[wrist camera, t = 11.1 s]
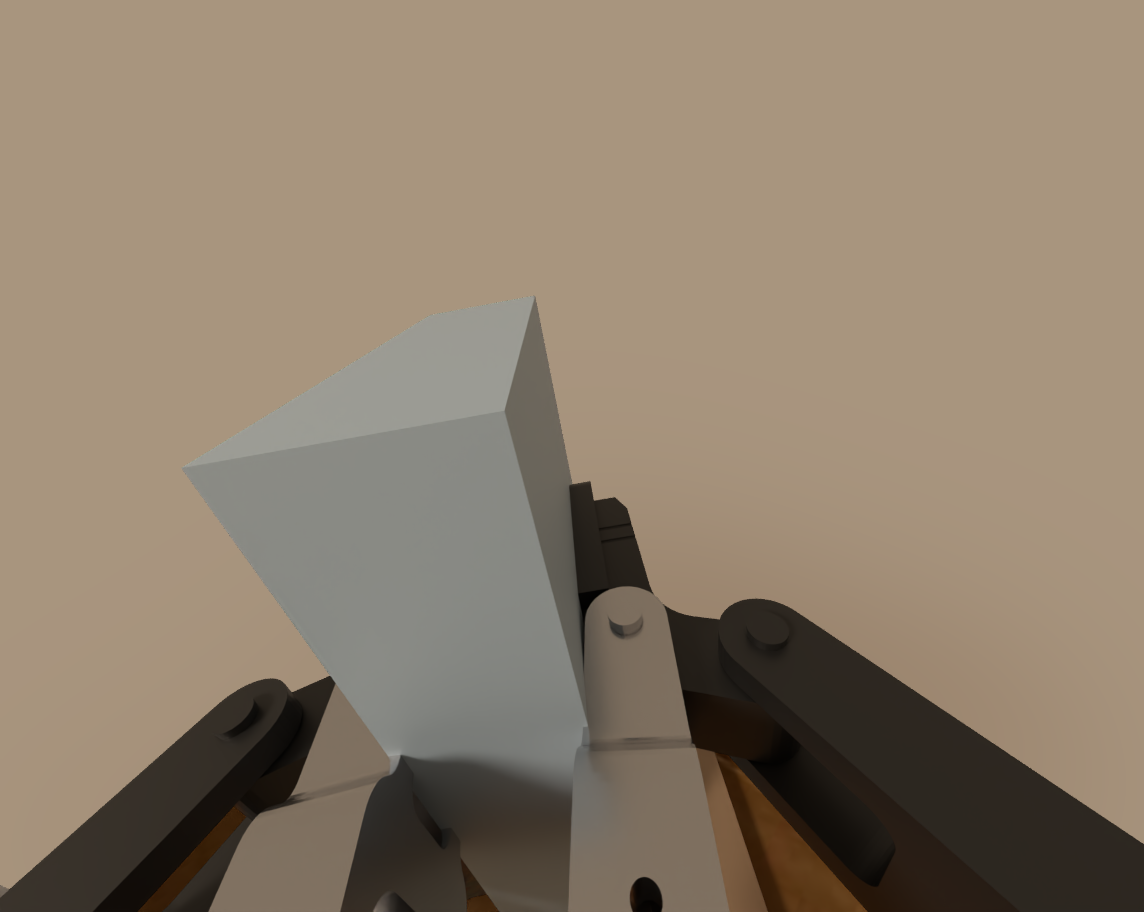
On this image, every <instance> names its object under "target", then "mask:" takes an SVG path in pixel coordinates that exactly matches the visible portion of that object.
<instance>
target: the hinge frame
mask: <svg viewBox="0 0 1144 912" xmlns="http://www.w3.org/2000/svg"><path fill="white" fill-rule="evenodd" d="M696 751H697V755H698V759H699V763H700V768H701V772H702V777H703V782H704V787H705V792H706V797H707V802H708V807H709V812H710V817H711V822H712V827H713V832H714V837H715V842H716V847H717V852H718V857H719V862H720V867H721V872H722V877H723V882H724V887H725V892H726V897H727V902H728V907H729V911H730V912H768V911H767V908H766V905H765V902H764V899H763V896H762V893H761V890H760V887H759V884H758V881H757V878H756V875H755V872H754V869H753V866H752V863H751V860H750V857H749V854H748V851H747V848H746V845H745V842H744V839H743V836H742V833H741V830H740V827H739V824H738V821H737V818H736V815H735V812H734V809H733V806H732V803H731V800H730V797H729V794H728V791H727V788H726V785H725V782H724V779H723V776H722V773H721V770H720V767H719V764H718V761H717V758H716V755H715V752H712V751H708V750H703V749H699V748H696Z"/></svg>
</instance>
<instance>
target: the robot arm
mask: <svg viewBox="0 0 1144 912" xmlns="http://www.w3.org/2000/svg"><path fill="white" fill-rule="evenodd" d="M569 491H570V503H571V515H572V528H573V540H574V552H575V564H576V576H577V588H578V596H579V600H580V605H581V609H582V614H583V618H584V628H585V646H584V683H585V696H586V708H587V721H588V726H587V727H583V735H582V743H581V746H579V747H578V748H577V750H576V755H575V761H574V771H573V793H572V820H571V847H570V875H569V902H568V912H730V911H729V907H728V902H727V897H726V892H725V887H724V882H723V877H722V872H721V867H720V862H719V857H718V852H717V847H716V842H715V837H714V832H713V827H712V822H711V817H710V812H709V807H708V802H707V797H706V792H705V787H704V782H703V777H702V772H701V768H700V763H699V759H698V755H697V751H696V748H699V749H703V750H708V751H712V752H717V753H721V754H725V755H729V756H730V757H731V759H732V760H733V761H734V762H735V763H736V764H737V765H738V767H739V768H740V769H741V770H742V771H743V772H744V773H745V774H746V776H747V777H748V778H749V779H750V780H751V781H752V782H753V783H754V785H755V786H756V787H757V788H758V789H759V790H760V791H761V792H762V794H763V795H764V796H765V797H766V798H767V799H768V800H769V801H770V803H771V804H772V805H773V806H774V807H775V808H776V809H777V810H778V811H779V813H780V814H781V815H782V816H783V817H784V818H785V819H786V820H787V822H788V823H789V824H790V825H791V826H792V827H793V828H794V829H795V831H796V832H797V833H798V834H799V835H800V836H801V837H802V838H803V840H804V841H805V842H806V843H807V844H808V845H809V846H810V847H811V849H812V850H813V851H814V852H815V853H816V854H817V855H818V856H819V857H820V859H821V860H822V861H823V862H824V863H825V864H826V865H827V866H828V868H829V869H830V870H831V871H832V872H833V873H834V874H835V875H836V877H837V878H838V879H839V880H840V881H841V882H842V883H843V884H844V886H845V887H846V888H847V889H848V890H849V891H850V892H851V893H852V895H853V896H854V897H855V898H856V899H857V900H858V901H859V902H860V903H861V905H862V906H863V907H864V908H865V909H866V910H867V911H868V912H1144V844H1143V843H1141V842H1140V841H1138V840H1136V839H1135V838H1134V837H1132V836H1131V835H1129V834H1128V833H1126V832H1125V831H1123V830H1122V829H1120V828H1119V827H1117V826H1116V825H1114V824H1113V823H1111V822H1110V821H1108V820H1107V819H1105V818H1104V817H1102V816H1101V815H1099V814H1098V813H1096V812H1095V811H1093V810H1092V809H1090V808H1089V807H1087V806H1086V805H1084V804H1083V803H1081V802H1080V801H1078V800H1077V799H1075V798H1074V797H1072V796H1071V795H1069V794H1068V793H1066V792H1065V791H1063V790H1062V789H1060V788H1059V787H1057V786H1056V785H1054V784H1053V783H1051V782H1050V781H1048V780H1047V779H1046V778H1044V777H1042V776H1041V775H1040V774H1038V773H1037V772H1035V771H1033V770H1032V769H1031V768H1029V767H1028V766H1026V765H1025V764H1023V763H1022V762H1020V761H1019V760H1017V759H1016V758H1014V757H1013V756H1011V755H1009V754H1008V753H1007V752H1005V751H1004V750H1002V749H1001V748H999V747H998V746H996V745H995V744H993V743H992V742H990V741H989V740H987V739H986V738H984V737H983V736H981V735H980V734H978V733H977V732H975V731H974V730H972V729H971V728H969V727H968V726H966V725H965V724H963V723H962V722H960V721H959V720H957V719H956V718H954V717H953V716H951V715H950V714H948V713H947V712H945V711H944V710H942V709H941V708H939V707H938V706H936V705H935V704H933V703H932V702H930V701H929V700H927V699H926V698H924V697H923V696H921V695H920V694H918V693H917V692H915V691H914V690H913V689H911V688H909V687H908V686H906V685H905V684H903V683H902V682H901V681H899V680H897V679H896V678H895V677H893V676H892V675H890V674H889V673H887V672H886V671H884V670H883V669H881V668H880V667H878V666H877V665H875V664H874V663H872V662H871V661H869V660H868V659H866V658H865V657H863V656H862V655H860V654H859V653H857V652H856V651H854V650H852V649H851V648H850V647H848V646H847V645H845V644H844V643H842V642H841V641H839V640H838V639H836V638H835V637H833V636H832V635H830V634H829V633H827V632H826V631H824V630H823V629H821V628H820V627H818V626H817V625H815V624H814V623H812V622H811V621H809V620H808V619H806V618H805V617H803V616H802V615H800V614H799V613H797V612H796V611H794V610H793V609H791V608H789V607H787V606H785V605H783V604H780V603H777V602H774V601H771V600H765V599H747V600H742V601H739V602H737V603H734V604H733V605H731V606H729V607H728V608H727V609H726V610H725V611H724V613H723V614H722V615H721V618H720V620H718V619H709V618H702V617H693V616H689V615H684V614H681V613H678V612H676V611H673V610H671V609H670V608H668V607H666V606H664V604H662V602H661V601H660V600H659V599H658V598H657V597H656V596H655V595H654V594H653V592H652V590H651V588H650V585H649V581H648V578H647V575H646V571H645V568H644V565H643V561H642V558H641V554H640V551H639V548H638V544H637V541H636V538H635V534H634V531H633V527H632V525H631V521H630V517H629V514H628V510H627V508H626V507H625V506H624V505H623V504H622V503H620V502H619V501H618V500H617V499H616V498H615V497H614V498H608V499H602V500H596V501H594V500H593V494H592V488H591V482H590V481H589V482H583V483H578V484H572V485H569ZM413 777H414V773H413V772H412V770H411V769H410V767H409V766H408V764H407V763H406V762H405V760H404V759H403V757H402V756H401V755H395V756H388V755H387V754H386V753H385V751H384V750H383V748H382V747H381V746H380V744H379V743H378V742H377V740H376V739H375V737H374V736H373V735H372V733H371V732H370V730H369V729H368V728H367V726H366V725H365V723H364V722H363V721H362V719H361V718H360V716H359V715H358V714H357V712H356V711H355V709H354V708H353V707H352V705H351V704H350V702H349V701H348V700H347V698H346V697H345V696H344V694H343V693H342V691H341V690H340V689H339V687H338V686H337V684H336V683H335V682H334V680H333V679H332V677H331V676H328V677H326V678H324V679H322V680H319V681H317V682H315V683H313V684H310V685H308V686H306V687H303V688H301V689H299V690H297V691H294V692H291V691H290V690H289V689H288V687H287V686H286V685H285V684H284V683H283V682H282V681H281V680H278V679H263V680H260V681H256V682H253V683H251V684H248V685H246V686H244V687H243V688H240V689H239V690H237V691H236V692H234V693H233V694H231V695H230V696H228V697H227V698H225V699H224V700H223V701H222V702H220V703H219V704H218V705H217V706H216V707H214V708H213V709H212V710H211V711H210V712H209V713H208V714H207V715H205V716H204V717H203V718H202V719H201V720H200V721H199V722H198V723H196V724H195V725H194V726H193V727H192V728H191V729H190V730H189V731H187V732H186V733H185V734H184V735H183V736H182V737H181V738H180V739H178V740H177V741H176V742H175V743H174V744H173V745H172V746H170V747H169V748H168V749H167V750H166V751H165V752H164V753H163V754H162V755H160V756H159V757H158V758H157V759H156V760H155V761H154V762H153V763H151V764H150V765H149V766H148V767H147V768H146V769H145V770H143V771H142V772H141V773H140V774H139V775H138V776H137V777H136V778H135V779H133V780H132V781H131V782H130V783H129V784H128V785H127V786H125V787H124V788H123V789H122V790H121V791H120V792H119V793H118V794H116V795H115V796H114V797H113V798H112V799H111V800H110V801H109V802H107V803H106V804H105V805H104V806H103V807H102V808H101V809H99V810H98V812H96V813H95V814H94V815H93V816H92V817H91V818H89V819H88V820H87V821H86V822H85V823H84V824H83V825H81V826H80V827H79V828H78V829H77V830H76V831H75V832H74V833H72V834H71V835H70V836H69V837H68V838H67V839H66V840H65V841H64V842H62V843H61V844H60V845H59V846H58V847H57V848H56V849H54V850H53V851H52V852H51V853H50V854H49V855H48V856H47V857H45V858H44V859H43V860H42V861H41V862H40V863H39V864H37V865H36V866H35V867H34V868H33V869H32V870H31V871H30V872H28V873H27V874H26V875H25V876H24V877H23V878H22V879H21V880H19V881H18V882H17V883H16V884H15V885H14V886H13V887H12V888H10V889H8V888H6V887H3V886H1V885H0V912H137V911H138V910H139V909H140V908H141V907H142V906H143V905H144V904H145V903H146V902H147V900H148V899H149V898H150V897H151V896H152V895H153V894H154V893H155V892H156V891H157V890H158V888H159V887H160V886H161V885H162V884H163V883H164V882H165V881H166V880H167V879H168V878H169V876H170V875H171V874H172V873H173V872H174V871H175V870H176V869H177V868H178V867H179V865H180V864H181V863H182V862H183V861H184V860H185V859H186V858H187V857H188V856H189V855H190V853H191V852H192V851H193V850H194V849H195V848H196V847H197V846H198V845H199V844H200V843H201V841H202V840H203V839H204V838H205V837H206V836H207V835H208V834H209V833H210V832H211V830H212V829H213V828H214V827H215V826H216V825H217V824H218V823H219V822H220V821H221V820H222V818H223V817H224V816H225V815H226V814H227V813H228V812H229V811H230V810H231V809H232V808H233V806H235V807H236V808H237V809H238V810H239V811H241V812H242V813H243V814H244V815H245V816H247V817H246V818H245V819H244V821H243V822H242V823H241V824H240V825H239V826H238V827H237V828H236V830H235V831H234V832H233V833H232V834H231V835H230V836H229V838H228V839H227V840H226V841H225V842H224V843H223V844H222V846H221V847H220V848H219V849H218V850H217V851H216V852H215V854H214V855H213V856H212V857H211V858H210V859H209V860H208V862H207V863H206V864H205V865H204V866H203V867H202V868H201V870H200V871H199V872H198V873H197V874H196V875H195V876H194V877H193V879H192V880H191V881H190V882H189V883H188V884H187V885H186V887H185V888H184V889H183V890H182V891H181V892H180V893H179V895H178V896H177V897H176V898H175V899H174V900H173V901H172V902H171V903H170V905H169V906H168V907H167V908H165V909H164V910H163V911H162V912H467V901H466V889H465V882H464V877H463V872H462V867H461V857H460V844H461V841H460V840H459V838H458V837H457V835H456V834H455V832H454V831H453V830H452V828H445V829H440V828H439V827H438V825H437V824H436V822H435V821H434V820H433V818H432V817H431V815H430V814H429V813H428V811H427V810H426V808H425V807H424V806H423V804H422V803H421V801H420V800H419V799H418V797H417V796H416V795H415V793H414V792H413Z"/></svg>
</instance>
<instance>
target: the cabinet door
mask: <svg viewBox="0 0 1144 912" xmlns="http://www.w3.org/2000/svg"><path fill="white" fill-rule="evenodd" d="M182 470H183V471H184V472H185V474H186V475H187V477H188V478H189V479H190V481H191V482H192V484H193V485H194V486H195V488H196V489H197V490H198V492H199V493H200V495H201V496H202V497H203V499H204V500H205V502H206V503H207V504H208V506H209V507H210V509H211V510H212V511H213V513H214V514H215V516H216V517H217V518H218V520H219V521H220V523H221V524H222V525H223V527H224V528H225V530H226V531H227V532H228V534H229V535H230V537H231V538H232V539H233V541H234V542H235V543H236V545H237V546H238V548H239V549H240V550H241V552H242V553H243V555H244V556H245V557H246V559H247V560H248V562H249V563H250V564H251V566H252V567H253V569H254V570H255V571H256V573H257V574H258V575H259V577H260V578H261V580H262V581H263V583H264V584H265V585H266V587H267V588H268V590H269V591H270V592H271V594H272V595H273V596H274V598H275V599H276V601H277V602H278V603H279V605H280V606H281V608H282V609H283V610H284V612H285V613H286V614H287V616H288V617H289V619H290V620H291V622H292V623H293V624H294V626H295V627H296V629H297V630H298V631H299V633H300V634H301V635H302V637H303V638H304V640H305V641H306V643H307V644H308V645H309V647H310V648H311V649H312V651H313V652H314V654H315V655H316V656H317V658H318V659H319V661H320V662H321V663H322V664H323V666H324V668H325V669H326V670H327V672H328V673H329V675H330V676H331V677H332V679H333V680H334V682H335V683H336V684H337V686H338V687H339V689H340V690H341V691H342V693H343V694H344V696H345V697H346V698H347V700H348V701H349V702H350V704H351V705H352V707H353V708H354V709H355V711H356V712H357V714H358V715H359V716H360V718H361V719H362V721H363V722H364V723H365V725H366V726H367V728H368V729H369V730H370V732H371V733H372V735H373V736H374V737H375V739H376V740H377V742H378V743H379V744H380V746H381V747H382V748H383V750H384V751H385V753H386V754H387V755H388V756H395V755H401V756H402V757H403V759H404V760H405V762H406V763H407V764H408V766H409V767H410V769H411V770H412V772H413V773H414V777H413V792H414V793H415V795H416V796H417V797H418V799H419V800H420V801H421V803H422V804H423V806H424V807H425V808H426V810H427V811H428V813H429V814H430V815H431V817H432V818H433V820H434V821H435V822H436V824H437V825H438V827H439V828H440V829H445V828H452V830H453V831H454V832H455V834H456V835H457V837H458V838H459V840H460V841H461V844H460V857H461V859H462V860H463V861H464V863H465V864H466V866H467V867H468V868H469V870H470V871H471V873H472V874H473V875H474V877H475V878H476V880H477V881H478V882H479V884H480V885H481V887H482V888H483V889H484V891H485V892H486V894H487V895H488V896H489V898H490V899H491V900H492V902H493V903H494V905H495V906H496V907H497V909H498V910H499V912H568V902H569V875H570V847H571V820H572V793H573V771H574V761H575V755H576V750H577V748H578V747H579V746H581V743H582V735H583V727H587V726H588V721H587V708H586V696H585V683H584V646H585V628H584V618H583V614H582V609H581V605H580V600H579V596H578V588H577V576H576V564H575V552H574V540H573V528H572V515H571V503H570V491H569V485H572V480H571V475H570V470H569V465H568V460H567V455H566V450H565V445H564V439H563V434H562V430H561V424H560V419H559V414H558V410H557V404H556V399H555V394H554V389H553V384H552V379H551V374H550V369H549V364H548V359H547V354H546V349H545V344H544V339H543V334H542V329H541V323H540V318H539V313H538V308H537V303H536V298H535V296H530V297H526V298H520V299H514V300H509V301H504V302H498V303H493V304H487V305H482V306H477V307H472V308H467V309H461V310H455V311H450V312H445V313H439V314H435V315H430V316H428V317H426V318H425V319H423V320H422V321H420V322H418V323H417V324H415V325H413V326H412V327H410V328H409V329H407V330H405V331H404V332H402V333H401V334H399V335H397V336H396V337H394V338H392V339H391V340H389V341H387V342H386V343H384V344H382V345H381V346H379V347H378V348H376V349H375V350H373V351H371V352H369V353H368V354H366V355H365V356H363V357H361V358H360V359H358V360H356V361H355V362H353V363H352V364H350V365H348V366H347V367H345V368H343V369H342V370H340V371H339V372H337V373H335V374H334V375H332V376H330V377H329V378H327V379H326V380H324V381H322V382H321V383H319V384H317V385H316V386H314V387H312V388H311V389H309V390H308V391H306V392H305V393H303V394H301V395H300V396H298V397H296V398H295V399H293V400H291V401H290V402H288V403H287V404H285V405H283V406H282V407H280V408H278V409H277V410H275V411H273V412H272V413H270V414H269V415H267V416H266V417H264V418H262V419H260V420H259V421H257V422H256V423H254V424H253V425H251V426H249V427H247V428H246V429H244V430H243V431H241V432H239V433H238V434H236V435H234V436H233V437H231V438H229V439H228V440H226V441H225V442H223V443H221V444H220V445H218V446H216V447H215V448H213V449H212V450H210V451H208V452H207V453H205V454H203V455H202V456H200V457H199V458H197V459H196V460H194V461H192V462H191V463H189V464H187V465H186V466H184V467H182Z"/></svg>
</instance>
